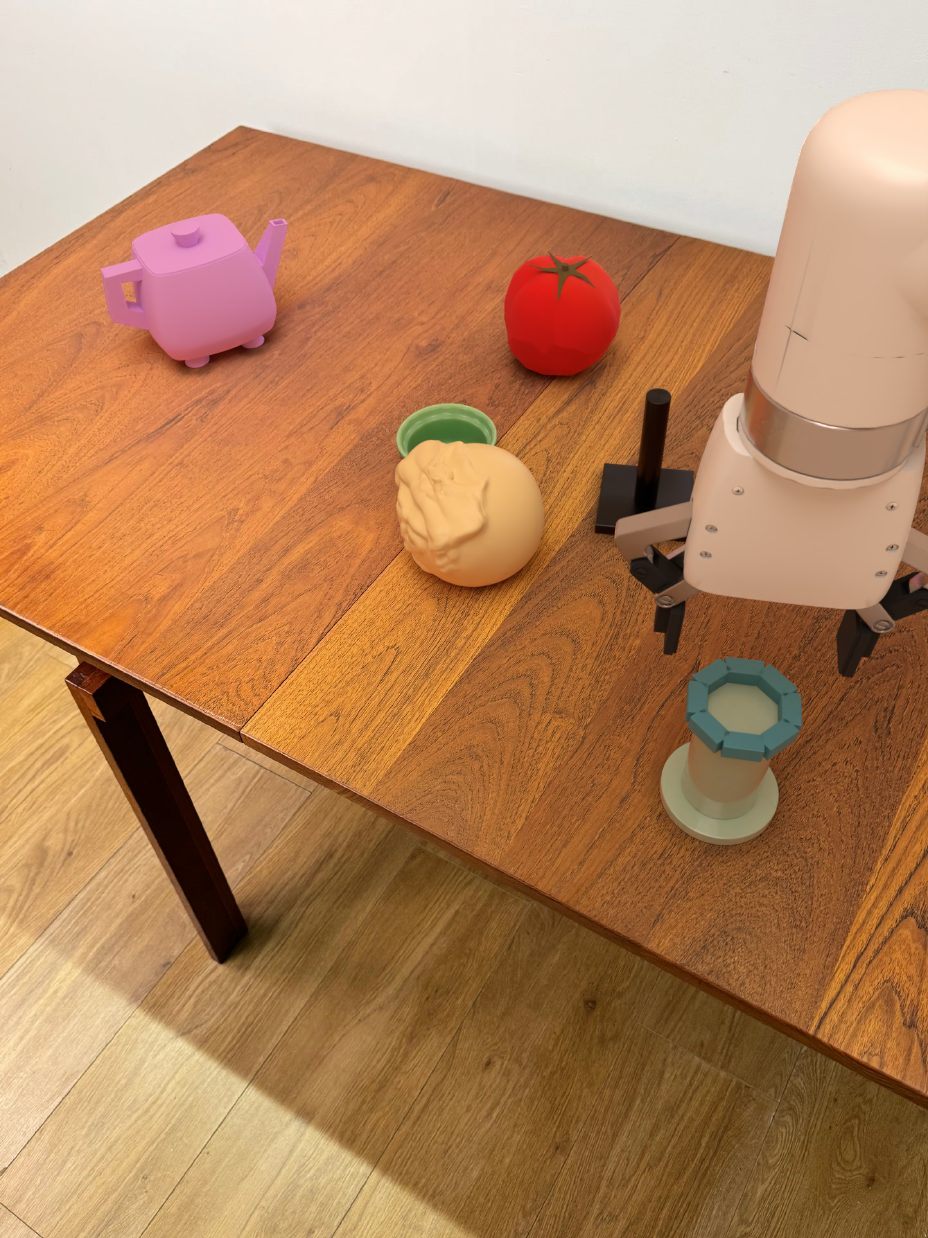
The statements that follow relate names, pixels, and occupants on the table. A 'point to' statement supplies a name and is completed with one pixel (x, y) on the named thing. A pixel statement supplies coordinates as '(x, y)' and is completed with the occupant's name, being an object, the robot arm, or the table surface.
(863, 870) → the table surface
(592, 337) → the tomato
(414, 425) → the ramekin
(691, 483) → the black peg stand
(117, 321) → the teapot
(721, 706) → the ring stand
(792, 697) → the ring
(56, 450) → the table surface
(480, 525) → the sculpture
